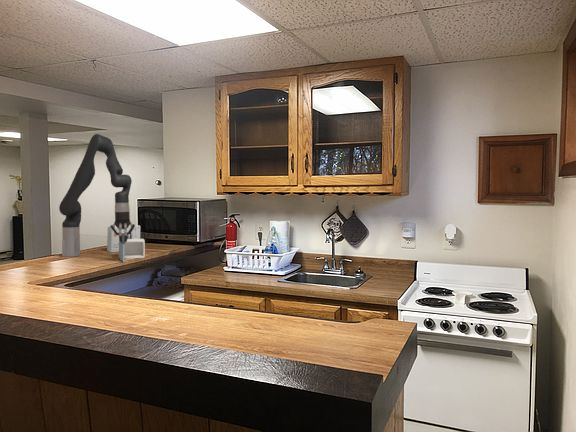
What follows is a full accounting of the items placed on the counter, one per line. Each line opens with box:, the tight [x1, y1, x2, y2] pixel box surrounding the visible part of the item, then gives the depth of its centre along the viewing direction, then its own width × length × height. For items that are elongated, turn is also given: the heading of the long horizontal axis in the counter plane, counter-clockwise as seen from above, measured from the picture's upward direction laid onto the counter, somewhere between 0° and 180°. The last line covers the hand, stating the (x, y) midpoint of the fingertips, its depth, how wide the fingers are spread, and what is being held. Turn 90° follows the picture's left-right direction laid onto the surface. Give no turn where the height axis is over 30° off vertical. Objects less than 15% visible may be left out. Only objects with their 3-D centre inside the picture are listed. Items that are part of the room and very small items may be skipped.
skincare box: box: [106, 224, 141, 253], centre depth 286 cm, size 21×5×16 cm, turn 143°
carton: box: [119, 238, 146, 259], centre depth 263 cm, size 14×10×10 cm
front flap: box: [118, 233, 126, 263], centre depth 249 cm, size 14×1×16 cm, turn 31°
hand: (123, 242), depth 244 cm, fingers closed
